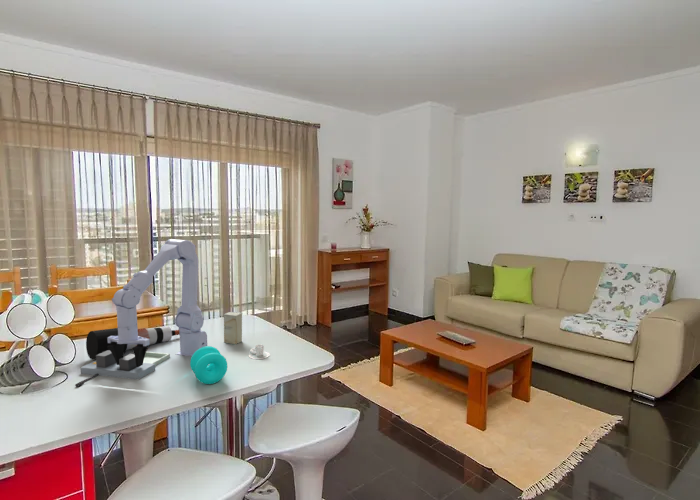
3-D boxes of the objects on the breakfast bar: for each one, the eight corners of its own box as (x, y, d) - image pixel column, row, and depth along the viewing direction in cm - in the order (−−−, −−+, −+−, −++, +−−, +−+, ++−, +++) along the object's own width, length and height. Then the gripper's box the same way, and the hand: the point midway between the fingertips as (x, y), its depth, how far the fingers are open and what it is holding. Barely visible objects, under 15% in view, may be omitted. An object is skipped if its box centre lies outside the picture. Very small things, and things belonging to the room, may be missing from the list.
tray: (170, 358, 148) (169, 353, 148) (151, 369, 138) (150, 364, 138) (145, 356, 150) (145, 351, 150) (125, 366, 140) (125, 361, 140)
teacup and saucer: (247, 353, 155) (247, 342, 155) (268, 350, 158) (268, 340, 157) (249, 361, 147) (249, 350, 147) (271, 358, 150) (271, 348, 149)
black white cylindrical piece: (181, 348, 171) (189, 329, 168) (93, 365, 144) (100, 343, 141) (171, 333, 176) (178, 315, 173) (83, 347, 149) (90, 325, 146)
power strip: (155, 370, 137) (154, 352, 136) (119, 391, 121) (118, 371, 121) (100, 365, 141) (99, 347, 141) (59, 385, 126) (57, 365, 125)
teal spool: (220, 370, 138) (219, 342, 136) (228, 381, 129) (228, 351, 128) (189, 377, 132) (188, 348, 131) (196, 388, 124) (195, 357, 123)
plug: (140, 371, 136) (139, 354, 136) (129, 377, 132) (128, 360, 131) (131, 370, 137) (130, 353, 137) (120, 376, 132) (119, 359, 132)
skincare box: (223, 342, 166) (222, 314, 164) (230, 339, 170) (229, 311, 169) (236, 344, 164) (235, 315, 162) (242, 341, 168) (242, 312, 166)
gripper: (99, 327, 130) (101, 367, 132) (137, 330, 127) (140, 371, 129) (115, 321, 137) (118, 359, 138) (153, 324, 134) (155, 363, 136)
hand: (129, 364), depth 134 cm, fingers open, 7 cm apart
